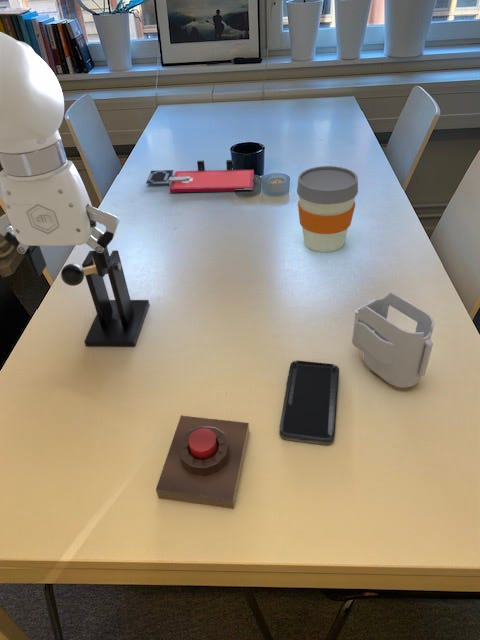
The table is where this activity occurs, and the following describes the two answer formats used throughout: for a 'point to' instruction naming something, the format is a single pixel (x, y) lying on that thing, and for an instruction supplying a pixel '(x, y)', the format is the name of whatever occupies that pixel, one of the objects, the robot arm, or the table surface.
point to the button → (202, 443)
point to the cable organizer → (393, 341)
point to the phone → (310, 403)
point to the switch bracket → (114, 308)
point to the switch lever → (76, 273)
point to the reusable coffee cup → (326, 206)
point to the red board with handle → (204, 179)
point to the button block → (204, 464)
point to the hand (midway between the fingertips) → (72, 271)
